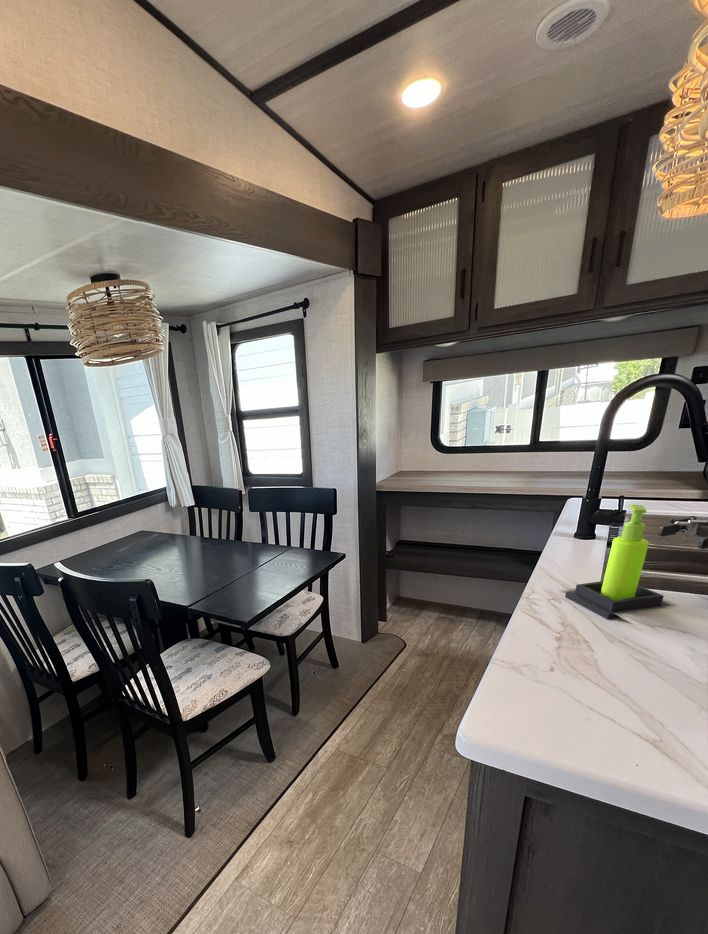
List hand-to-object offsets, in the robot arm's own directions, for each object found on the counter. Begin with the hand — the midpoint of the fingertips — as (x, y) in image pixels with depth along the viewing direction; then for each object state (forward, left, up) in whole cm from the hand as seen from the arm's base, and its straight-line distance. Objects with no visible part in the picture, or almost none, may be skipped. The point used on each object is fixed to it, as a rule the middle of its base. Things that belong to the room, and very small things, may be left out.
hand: (679, 537), depth 96 cm
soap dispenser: (+10, -1, -13) cm, 17 cm away
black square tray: (+11, -1, -14) cm, 17 cm away
